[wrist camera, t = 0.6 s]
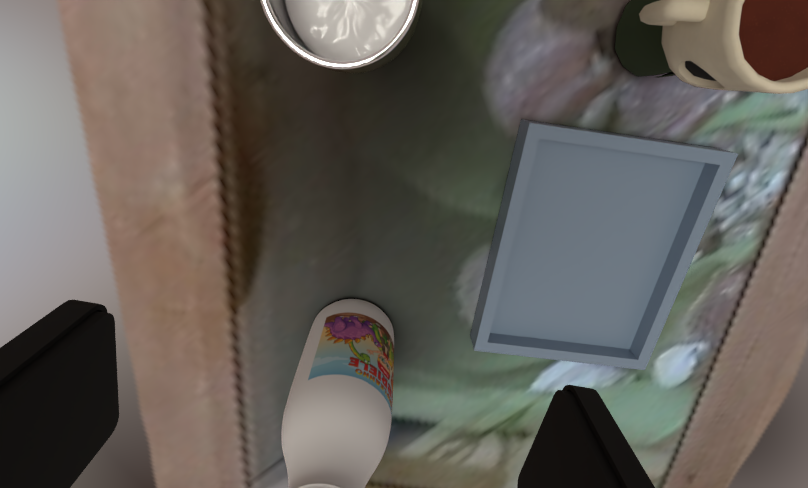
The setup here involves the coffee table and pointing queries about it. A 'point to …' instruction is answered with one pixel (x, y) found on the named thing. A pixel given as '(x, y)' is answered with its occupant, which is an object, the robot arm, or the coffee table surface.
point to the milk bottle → (340, 398)
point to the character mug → (718, 43)
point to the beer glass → (344, 30)
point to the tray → (593, 243)
